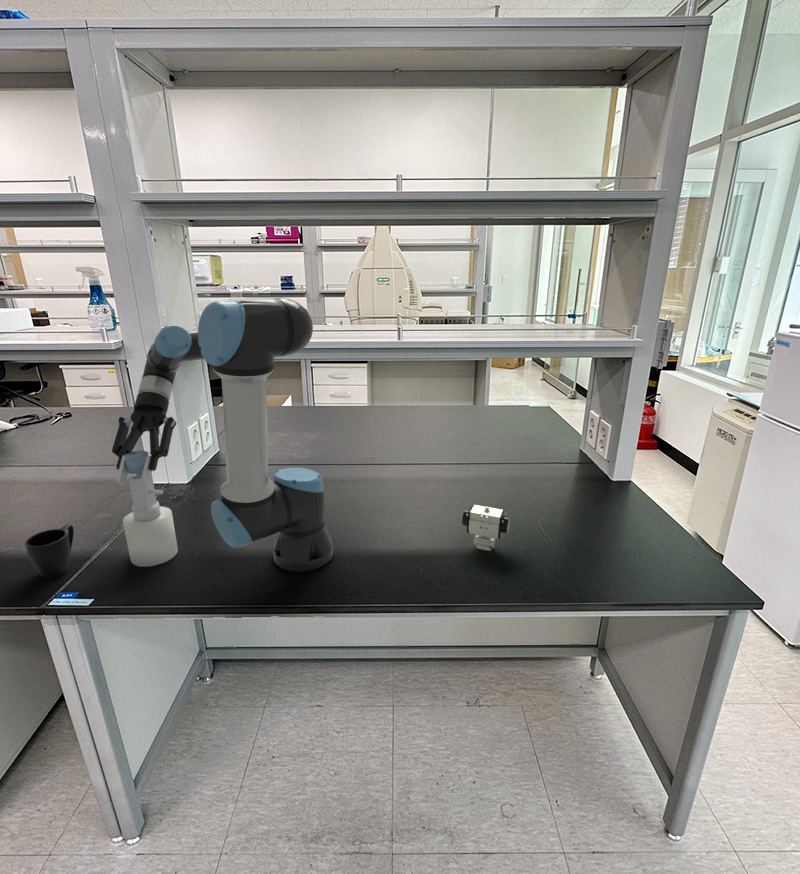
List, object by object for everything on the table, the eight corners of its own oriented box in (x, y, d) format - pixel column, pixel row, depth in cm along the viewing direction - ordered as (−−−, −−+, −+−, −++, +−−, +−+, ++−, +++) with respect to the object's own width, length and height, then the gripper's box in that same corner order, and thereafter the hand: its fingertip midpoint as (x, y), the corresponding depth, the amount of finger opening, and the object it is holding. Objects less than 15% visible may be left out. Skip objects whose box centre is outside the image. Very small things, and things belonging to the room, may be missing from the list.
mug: (93, 554, 125) (86, 522, 122) (58, 583, 114) (49, 547, 111) (63, 553, 126) (55, 520, 123) (25, 581, 114) (15, 545, 111)
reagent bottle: (186, 545, 130) (174, 468, 123) (161, 568, 120) (146, 487, 112) (148, 541, 131) (134, 466, 124) (120, 564, 121) (103, 483, 114)
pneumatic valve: (464, 538, 134) (467, 499, 130) (507, 547, 130) (511, 507, 126) (459, 548, 129) (461, 508, 125) (504, 558, 125) (507, 516, 121)
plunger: (160, 499, 123) (152, 451, 118) (148, 508, 118) (139, 458, 114) (142, 498, 123) (133, 450, 119) (129, 507, 119) (119, 457, 114)
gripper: (194, 405, 129) (177, 488, 118) (125, 404, 128) (102, 488, 118) (183, 390, 122) (164, 477, 112) (110, 389, 121) (85, 477, 111)
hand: (132, 482), depth 115 cm, fingers closed on plunger, 5 cm apart
